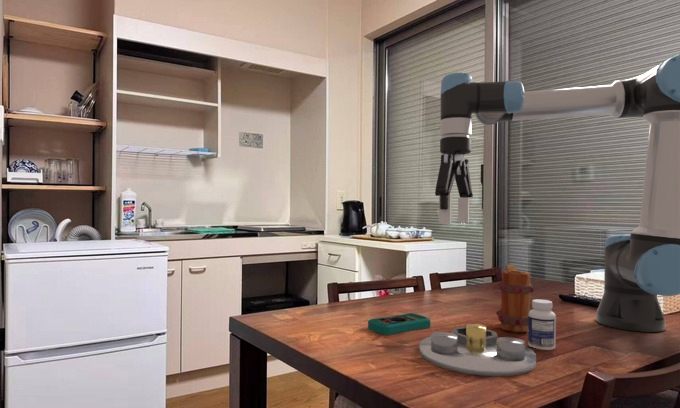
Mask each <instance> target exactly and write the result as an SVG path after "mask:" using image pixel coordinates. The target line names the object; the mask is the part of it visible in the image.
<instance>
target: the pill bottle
mask: <svg viewBox="0 0 680 408" xmlns="http://www.w3.org/2000/svg"><path fill="white" fill-rule="evenodd" d="M531 307H532V309H531V310H529V317H528V331H527V332H528V335H527V343H528V346H529V348H530V347H531V348H532V347H533V349H535V348H536V350H542V351H552V350H555V349H556V342H557V341H556V340H557V339H556V337H557V336H556V335H557V334H556V333H557V328H556V327H557V315H556V313H555V312H554V311H552V309H553V301H551V300H549V299H541V298H540V299H538V298H537V299H532V301H531Z"/></svg>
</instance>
